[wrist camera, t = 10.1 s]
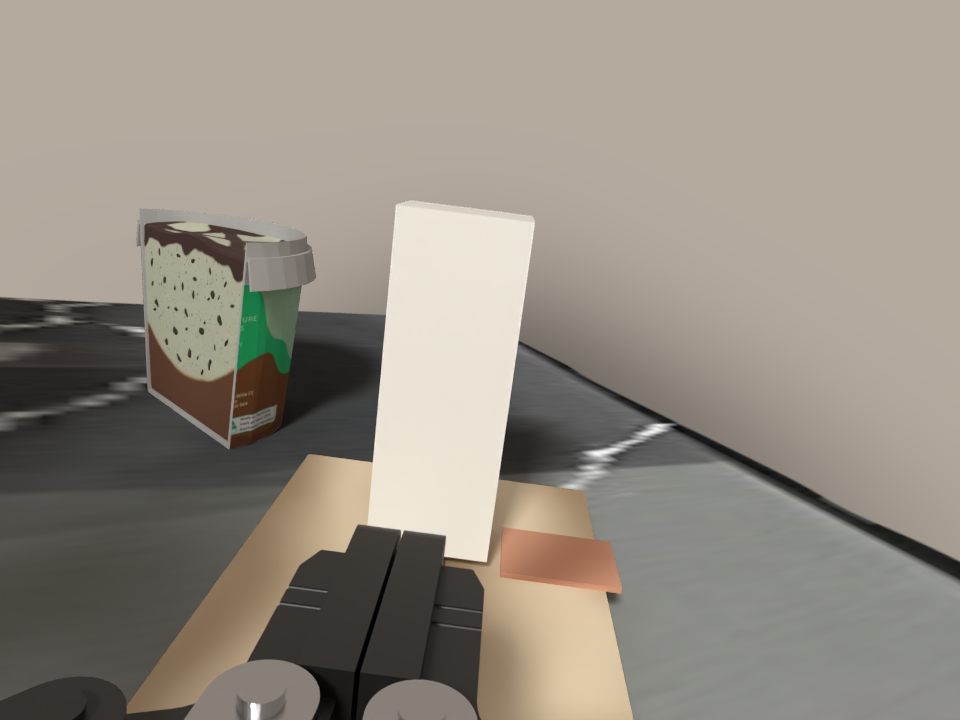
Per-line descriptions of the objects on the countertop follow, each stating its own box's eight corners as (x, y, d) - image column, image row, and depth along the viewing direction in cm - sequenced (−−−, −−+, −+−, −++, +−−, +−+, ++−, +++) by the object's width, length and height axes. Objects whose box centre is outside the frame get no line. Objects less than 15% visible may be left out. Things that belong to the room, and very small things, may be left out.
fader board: (-590, 1847, 6) (-652, 1756, 5) (306, 485, 31) (309, 449, 30) (924, 2097, 6) (990, 2027, 5) (590, 523, 31) (596, 488, 30)
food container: (353, 436, 37) (369, 245, 34) (245, 461, 33) (253, 244, 30) (236, 370, 45) (241, 211, 42) (136, 383, 40) (135, 206, 38)
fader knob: (365, 545, 23) (396, 204, 20) (382, 503, 26) (411, 200, 23) (486, 562, 23) (535, 222, 20) (489, 518, 26) (532, 215, 23)
